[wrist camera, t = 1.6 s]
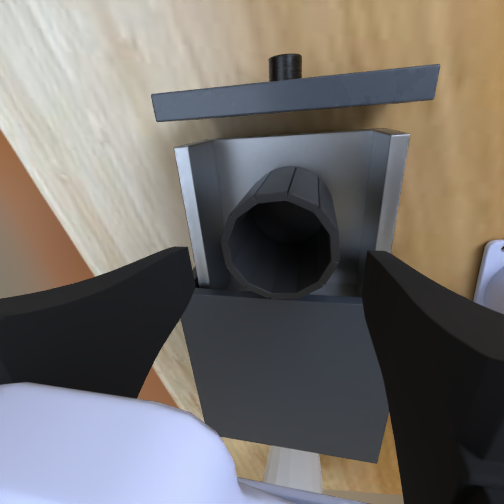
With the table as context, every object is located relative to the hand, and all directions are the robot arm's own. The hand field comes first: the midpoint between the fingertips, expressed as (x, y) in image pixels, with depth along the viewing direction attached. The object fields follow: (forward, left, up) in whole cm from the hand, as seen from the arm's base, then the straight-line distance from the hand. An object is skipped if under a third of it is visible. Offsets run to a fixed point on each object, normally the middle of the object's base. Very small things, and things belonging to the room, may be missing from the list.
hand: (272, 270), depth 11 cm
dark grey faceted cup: (0, 0, -8) cm, 8 cm away
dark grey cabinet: (+1, +11, -10) cm, 15 cm away
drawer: (0, -1, -9) cm, 9 cm away
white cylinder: (+2, +30, -10) cm, 32 cm away
